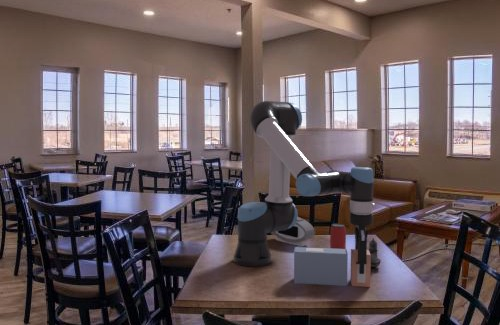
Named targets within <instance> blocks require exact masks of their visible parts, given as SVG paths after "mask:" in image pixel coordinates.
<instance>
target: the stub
mask: <svg viewBox="0 0 500 325" xmlns="http://www.w3.org/2000/svg"><path fill="white" fill-rule="evenodd" d="M356 262H358V250H356V249H355V248H351V249H350V276H349V277H350V283H351V284H350V285H351V286H352V287H361V288H362V287H366V288H367V287H368V288H370V287H371V270H370V269H371V254H370V252H369V250H368V249H367V264H366V279H365V283H357V264H356Z"/></svg>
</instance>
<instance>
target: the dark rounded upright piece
mask: <svg viewBox="0 0 500 325" xmlns="http://www.w3.org/2000/svg"><path fill="white" fill-rule="evenodd" d="M368 247H369V248H367V250H369V252H370V254H371V269H370V271H378V270H380V268H379V266H380V264H381V261H382V260H381V258H378V251H379V249H378V242H377V240H375V238H372V240H370V241H369V246H368Z"/></svg>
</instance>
